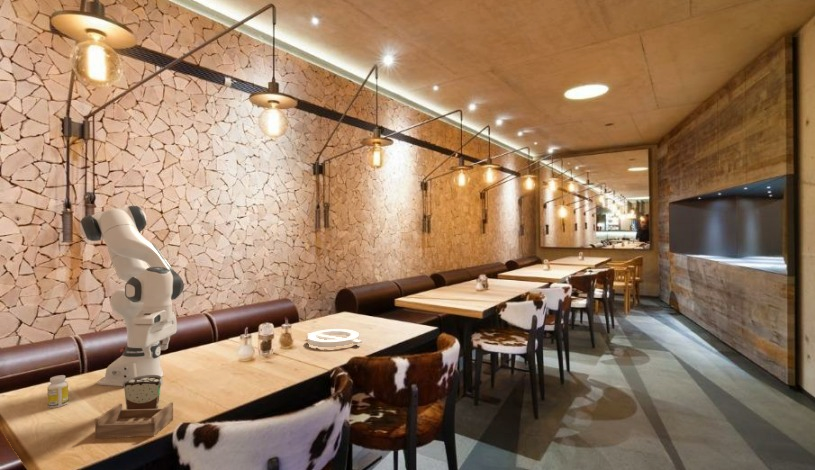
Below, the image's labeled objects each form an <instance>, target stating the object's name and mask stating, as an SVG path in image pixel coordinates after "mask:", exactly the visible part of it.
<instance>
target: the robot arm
mask: <svg viewBox="0 0 815 470" xmlns="http://www.w3.org/2000/svg"><path fill="white" fill-rule="evenodd" d="M147 219H148V218H147V215H146V213H145V211H144V210H142V208H141V207H140V206H138V205H128V206H127V207H125V206H124V207H116V208H110V209H108V210H104V211H101V212H97V213H95V214H89V215H86V216H83V217H82V218H81V219H80V224H79V229H80V233H81V234H82V235H83V237H85V238H86V239H87V240H89V241H91V242H98V241H102V240H104V241H103V242H104V243H105V245H106V247H107V252H108V256H109V258H110V261H111V263H112V265H113V268H114V270H115V273H116V276H117V277H118V278H119V279H120V280H122V281H124V282H125V285H124V287H123V288H120V289H117V290H115V291H114V292H113V293H112V294H111V295H110V296H111V297H110V299H109V304H110V305H109V306H110V307H111V310H112V311H113V312H114V313H116V314H117V315H119V316H120V317H121V318H122V320H123V322H124V324H125V327H126V336H127V343H126V344H127V345H126V346H124V347H122V348H120V349H119V350H120V351H119V352H120V353H122V352H123V353H122V355H121V356H120V357H118V358H116V359H115V360H114V361H113V362H111V364H109V365H108V366H107V368H106V370H105V372H104V373H105V374H104V376H103V377H101V378H100V379H99V380H98V381H97V385H98V386H115V387H122V386H123V383H124V381H126V380H128V379H131V378H134V377H138V376H144V375H159V376H161V378H163V377H164V371H163V367H162V364H161V363H162V361H161V353H162V352H161V351H166V350H167V349H168V348H169V342H170V340H171V336H173V335H175V334H176V333H177V330H178V323H177V322H178V320H177V317H176V314H175V312H174V310H173V301H174V300H176V299H177V298H179V296H181V294H182V293H183V291H184V288H185V284H184V280H183V279H182V277H181V276H180V275H179V274H178V273H177V272H176V271H175V270H174V269H173V268H172V265H170V263H169V261H168V260H167V259H166V257H165V256H164V255H163V253H162V252H161V251H160V249H159V247H157V246H156V244H154V243H153V242H151V241H149V240H147V238H145V236H143V235H142V234H141V231H143V230H144V229H145V227H146V226H147V221H148V220H147ZM161 341H162V342H161Z"/></svg>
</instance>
